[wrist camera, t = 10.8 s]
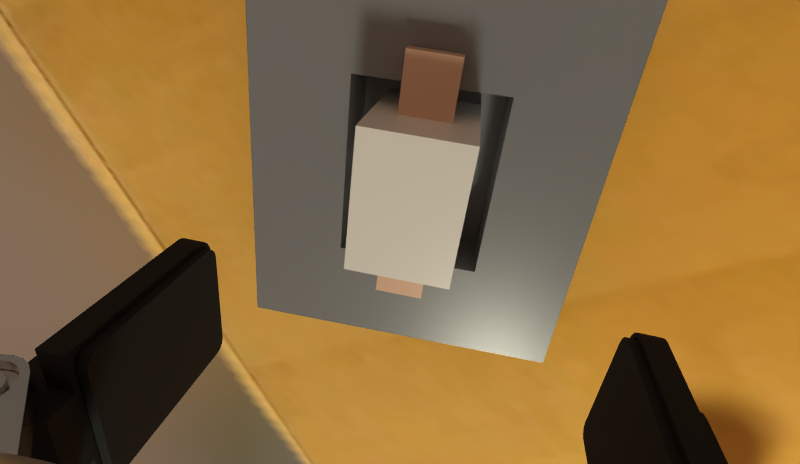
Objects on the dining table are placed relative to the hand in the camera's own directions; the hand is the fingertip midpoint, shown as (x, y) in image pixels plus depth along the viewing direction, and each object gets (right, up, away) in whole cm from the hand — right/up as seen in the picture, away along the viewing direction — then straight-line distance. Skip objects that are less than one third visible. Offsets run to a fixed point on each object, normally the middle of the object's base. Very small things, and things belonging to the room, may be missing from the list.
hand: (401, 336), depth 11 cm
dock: (+1, +6, +12) cm, 13 cm away
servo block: (+1, +6, +11) cm, 12 cm away
